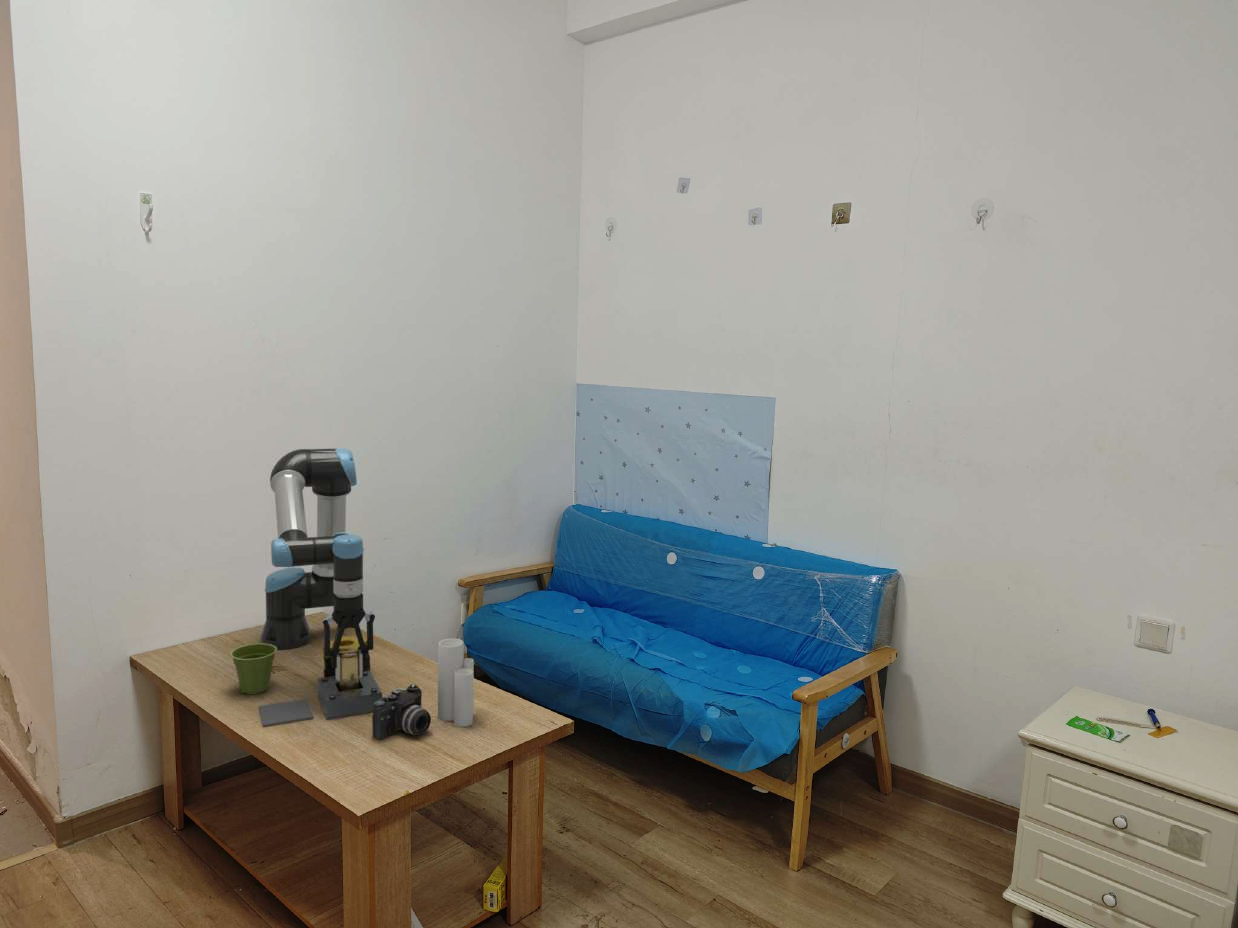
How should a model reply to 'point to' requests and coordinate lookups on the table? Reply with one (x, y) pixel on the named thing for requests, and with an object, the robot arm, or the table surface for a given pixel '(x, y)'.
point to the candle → (345, 643)
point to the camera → (400, 713)
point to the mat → (285, 712)
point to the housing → (347, 696)
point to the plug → (349, 669)
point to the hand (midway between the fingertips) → (349, 676)
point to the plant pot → (254, 666)
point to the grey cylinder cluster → (455, 683)
